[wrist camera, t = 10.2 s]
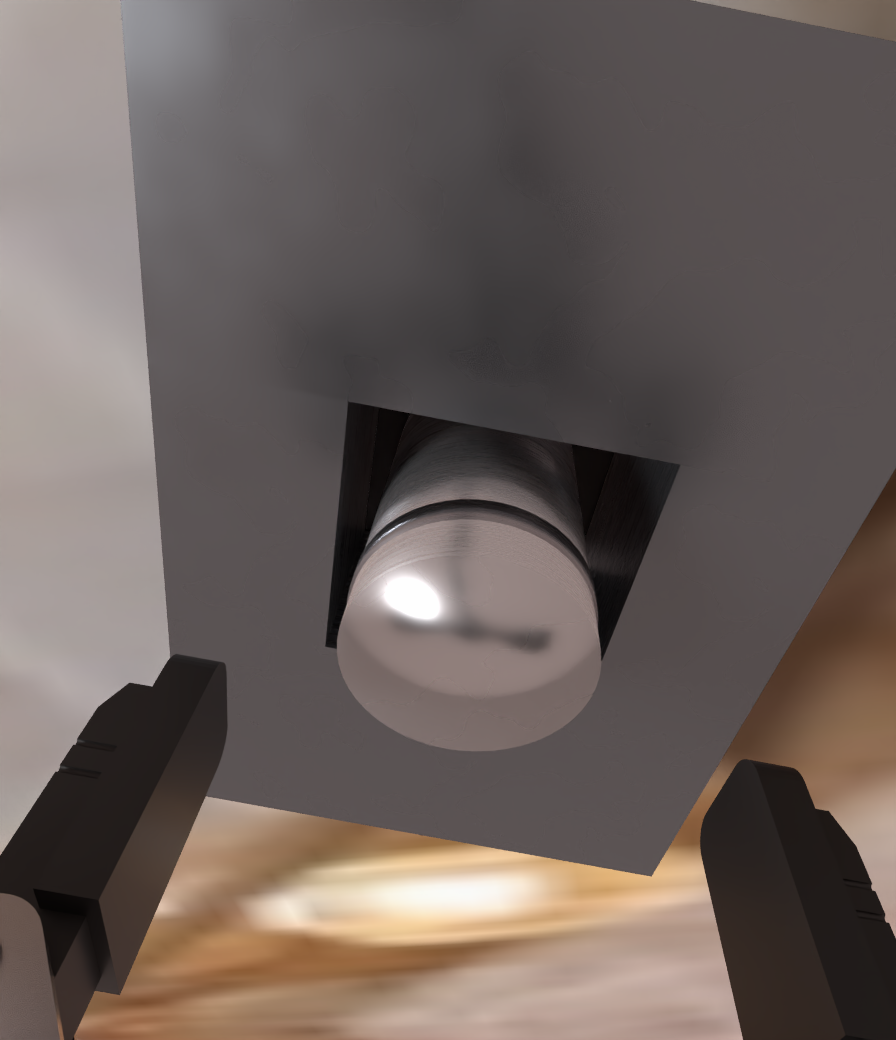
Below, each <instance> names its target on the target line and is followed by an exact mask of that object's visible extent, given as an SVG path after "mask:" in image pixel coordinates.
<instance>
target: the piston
mask: <svg viewBox="0 0 896 1040" xmlns="http://www.w3.org/2000/svg"><path fill="white" fill-rule="evenodd" d="M337 657H338V664H339V667H340V670H341V673H342V676H343V678H344V680H345V682H346V684H347V686H348V688H349V690H350V691H351V693H352V694H353V695H354V697H355V698H356V700H357V701H358V702H359V703H360V704H361V705H362V706H363V707H364V708H365V710H367V711H368V712H369V713H370V714H371V715H372V716H374V717H375V718H376V719H377V720H379V721H380V722H382V723H383V724H385V725H386V726H387V727H389V728H391V729H393V730H394V731H396V732H398V733H400V734H402V735H404V736H407V737H409V738H411V739H414V740H416V741H419V742H422V743H425V744H428V745H432V746H436V747H441V748H445V749H452V750H460V751H495V750H503V749H509V748H514V747H518V746H523V745H526V744H529V743H532V742H535V741H538V740H540V739H542V738H544V737H546V736H549V735H551V734H552V733H554V732H556V731H557V730H559V729H561V728H562V727H564V726H565V725H566V724H568V723H569V722H570V721H571V720H573V719H574V718H575V717H576V716H577V715H578V714H579V713H580V712H581V711H582V710H583V708H584V707H585V706H586V704H587V703H588V701H589V700H590V698H591V697H592V695H593V693H594V691H595V689H596V686H597V683H598V680H599V676H600V670H601V649H600V642H599V634H598V608H597V601H596V594H595V587H594V583H593V579H592V575H591V572H590V570H589V564H588V557H587V550H586V542H585V535H584V528H583V521H582V514H581V507H580V500H579V493H578V486H577V479H576V472H575V465H574V458H573V450H572V444H569V443H564V442H559V441H554V440H548V439H543V438H538V437H533V436H527V435H522V434H517V433H512V432H506V431H501V430H496V429H491V428H485V427H480V426H475V425H470V424H464V423H459V422H454V421H449V420H443V419H438V418H433V417H428V416H422V415H417V414H412V413H411V414H410V416H409V418H408V419H407V422H406V424H405V427H404V429H403V432H402V435H401V438H400V442H399V445H398V448H397V451H396V454H395V457H394V460H393V463H392V466H391V469H390V472H389V476H388V479H387V482H386V485H385V488H384V491H383V494H382V497H381V500H380V503H379V506H378V510H377V513H376V516H375V519H374V522H373V525H372V528H371V531H370V534H369V537H368V541H367V544H366V547H365V550H364V551H363V553H362V555H361V556H360V559H359V561H358V564H357V567H356V569H355V572H354V575H353V578H352V581H351V584H350V588H349V593H348V597H347V605H346V609H345V612H344V615H343V618H342V621H341V624H340V627H339V632H338V637H337Z"/></svg>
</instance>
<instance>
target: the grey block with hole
mask: <svg viewBox="0 0 896 1040" xmlns="http://www.w3.org/2000/svg"><path fill="white" fill-rule="evenodd" d="M120 1H121V14H122V27H123V41H124V54H125V67H126V80H127V93H128V106H129V119H130V133H131V146H132V159H133V172H134V185H135V198H136V211H137V225H138V238H139V251H140V264H141V277H142V290H143V303H144V316H145V330H146V343H147V356H148V369H149V382H150V395H151V408H152V422H153V435H154V448H155V461H156V474H157V487H158V500H159V513H160V527H161V540H162V553H163V566H164V579H165V592H166V605H167V619H168V632H169V645H170V658H171V657H172V656H173V655H175V654H180V655H186V656H191V657H197V658H202V659H208V660H213V661H219V662H224V663H225V665H226V671H227V720H228V728H227V736H226V742H225V746H224V750H223V754H222V757H221V760H220V763H219V766H218V768H217V771H216V773H215V775H214V778H213V780H212V782H211V785H210V787H209V789H208V792H207V794H206V796H208V797H213V798H219V799H224V800H230V801H236V802H241V803H247V804H252V805H258V806H263V807H269V808H274V809H280V810H286V811H291V812H297V813H302V814H308V815H313V816H319V817H324V818H330V819H336V820H341V821H347V822H352V823H358V824H363V825H369V826H374V827H380V828H385V829H391V830H397V831H402V832H408V833H413V834H419V835H424V836H430V837H435V838H441V839H447V840H452V841H458V842H463V843H469V844H474V845H480V846H485V847H491V848H497V849H502V850H508V851H513V852H519V853H524V854H530V855H535V856H541V857H547V858H552V859H558V860H563V861H569V862H574V863H580V864H585V865H591V866H596V867H602V868H608V869H613V870H619V871H624V872H630V873H635V874H641V875H646V876H652V875H653V873H654V871H655V870H656V868H657V866H658V865H659V863H660V861H661V860H662V858H663V856H664V855H665V853H666V851H667V850H668V848H669V846H670V845H671V843H672V841H673V839H674V838H675V836H676V834H677V833H678V831H679V829H680V828H681V826H682V824H683V823H684V821H685V819H686V818H687V816H688V814H689V813H690V811H691V809H692V808H693V806H694V804H695V803H696V801H697V799H698V798H699V796H700V794H701V793H702V791H703V789H704V788H705V786H706V784H707V783H708V781H709V779H710V778H711V776H712V774H713V773H714V771H715V769H716V768H717V766H718V764H719V763H720V761H721V759H722V758H723V756H724V754H725V753H726V751H727V749H728V748H729V746H730V744H731V743H732V741H733V739H734V738H735V736H736V734H737V733H738V731H739V729H740V728H741V726H742V724H743V722H744V721H745V719H746V717H747V716H748V714H749V712H750V711H751V709H752V707H753V706H754V704H755V702H756V701H757V699H758V697H759V696H760V694H761V692H762V691H763V689H764V687H765V686H766V684H767V682H768V681H769V679H770V677H771V676H772V674H773V672H774V671H775V669H776V667H777V666H778V664H779V662H780V661H781V659H782V657H783V656H784V654H785V652H786V651H787V649H788V647H789V646H790V644H791V642H792V641H793V639H794V637H795V636H796V634H797V632H798V631H799V629H800V627H801V626H802V624H803V622H804V621H805V619H806V617H807V616H808V614H809V612H810V611H811V609H812V607H813V606H814V604H815V602H816V600H817V599H818V597H819V595H820V594H821V592H822V590H823V589H824V587H825V585H826V584H827V582H828V580H829V579H830V577H831V575H832V574H833V572H834V570H835V569H836V567H837V565H838V564H839V562H840V560H841V559H842V557H843V555H844V554H845V552H846V550H847V549H848V547H849V545H850V544H851V542H852V540H853V539H854V537H855V535H856V534H857V532H858V530H859V529H860V527H861V525H862V524H863V522H864V520H865V519H866V517H867V515H868V514H869V512H870V510H871V509H872V507H873V505H874V504H875V502H876V500H877V499H878V497H879V495H880V494H881V492H882V490H883V489H884V487H885V485H886V484H887V482H888V480H889V478H890V477H891V475H892V473H893V472H894V470H895V468H896V42H894V41H889V40H884V39H879V38H874V37H869V36H864V35H859V34H855V33H850V32H845V31H840V30H835V29H830V28H825V27H820V26H815V25H810V24H805V23H800V22H795V21H790V20H785V19H780V18H775V17H770V16H765V15H761V14H756V13H751V12H746V11H741V10H736V9H731V8H726V7H721V6H716V5H711V4H706V3H701V2H696V1H691V0H120ZM379 407H380V408H386V409H391V410H396V411H401V412H407V413H412V414H417V415H422V416H428V417H433V418H438V419H443V420H449V421H454V422H459V423H464V424H470V425H475V426H480V427H485V428H491V429H496V430H501V431H506V432H512V433H517V434H522V435H527V436H533V437H538V438H543V439H548V440H554V441H559V442H564V443H569V444H575V445H580V446H585V447H590V448H596V449H601V450H606V451H611V452H614V455H613V458H612V461H611V464H610V467H609V470H608V473H607V476H606V479H605V482H604V485H603V488H602V491H601V493H600V496H599V499H598V502H597V505H596V508H595V511H594V514H593V517H592V520H591V523H590V526H589V529H588V532H587V535H586V538H585V542H586V550H587V557H588V564H589V570H590V572H591V575H592V579H593V583H594V587H595V594H596V601H597V608H598V634H599V642H600V649H601V670H600V676H599V680H598V683H597V686H596V689H595V691H594V693H593V695H592V697H591V698H590V700H589V701H588V703H587V704H586V706H585V707H584V708H583V710H582V711H581V712H580V713H579V714H578V715H577V716H576V717H575V718H574V719H573V720H571V721H570V722H569V723H568V724H566V725H565V726H564V727H562V728H561V729H559V730H557V731H556V732H554V733H552V734H551V735H549V736H546V737H544V738H542V739H540V740H538V741H535V742H532V743H529V744H526V745H523V746H518V747H514V748H509V749H503V750H495V751H460V750H452V749H445V748H441V747H436V746H432V745H428V744H425V743H422V742H419V741H416V740H414V739H411V738H409V737H407V736H404V735H402V734H400V733H398V732H396V731H394V730H393V729H391V728H389V727H387V726H386V725H385V724H383V723H382V722H380V721H379V720H377V719H376V718H375V717H374V716H372V715H371V714H370V713H369V712H368V711H367V710H365V708H364V707H363V706H362V705H361V704H360V703H359V702H358V701H357V700H356V698H355V697H354V695H353V694H352V693H351V691H350V690H349V688H348V686H347V684H346V682H345V680H344V678H343V676H342V673H341V670H340V667H339V664H338V657H337V637H338V632H339V627H340V624H341V621H342V618H343V615H344V612H345V609H346V605H347V597H348V593H349V588H350V584H351V581H352V578H353V575H354V572H355V569H356V567H357V564H358V561H359V559H360V556H361V555H362V553H363V551H364V550H365V547H366V544H367V541H368V537H369V534H370V532H369V531H365V523H366V514H367V506H368V498H369V490H370V481H371V473H372V465H373V456H374V448H375V440H376V432H377V423H378V415H379Z"/></svg>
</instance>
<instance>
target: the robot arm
mask: <svg viewBox="0 0 896 1040" xmlns="http://www.w3.org/2000/svg"><path fill="white" fill-rule="evenodd" d="M227 728H228V720H227V671H226V665H225V663H224V662H219V661H213V660H208V659H202V658H197V657H191V656H186V655H180V654H175V655H173V656H172V657H171V658H170V659H169V660H168V662H167V663H166V665H165V666H164V668H163V670H162V671H161V673H160V675H159V676H158V678H157V680H156V681H155V683H154V685H153V687H151V686H145V685H140V684H134V683H129V684H127V685H126V686H125V687H124V688H122V689H121V690H120V691H118V692H117V693H116V694H114V695H113V696H112V697H111V698H109V699H108V700H107V701H105V702H104V703H103V704H102V705H100V706H99V707H98V708H97V710H96V711H95V713H94V714H93V716H92V717H91V719H90V720H89V722H88V723H87V725H86V726H85V728H84V729H83V731H82V732H81V734H80V735H79V737H78V738H77V743H76V745H73V746H72V748H71V749H70V751H69V752H68V754H67V755H66V757H65V758H64V760H63V761H62V763H61V764H60V769H59V771H58V772H55V773H54V775H53V776H52V778H51V779H50V781H49V782H48V784H47V786H46V787H45V789H44V790H43V792H42V793H41V795H40V796H39V798H38V799H37V801H36V802H35V804H34V805H33V807H32V808H31V810H30V811H29V813H28V814H27V816H26V817H25V819H24V820H23V822H22V823H21V825H20V827H19V828H18V830H17V831H16V833H15V834H14V836H13V837H12V839H11V840H10V842H9V843H8V845H7V846H6V848H5V849H4V851H3V852H2V854H1V855H0V1040H77V1036H76V1031H77V1028H78V1026H79V1024H80V1022H81V1020H82V1017H83V1015H84V1013H85V1011H86V1009H87V1007H88V1004H89V1002H90V1000H91V998H92V996H93V994H94V991H100V992H106V993H111V994H117V995H120V993H121V991H122V989H123V986H124V984H125V982H126V979H127V977H128V975H129V972H130V970H131V968H132V965H133V963H134V961H135V958H136V956H137V954H138V951H139V949H140V947H141V945H142V942H143V940H144V938H145V935H146V933H147V931H148V928H149V926H150V924H151V921H152V919H153V917H154V914H155V912H156V910H157V907H158V905H159V903H160V900H161V898H162V896H163V894H164V891H165V889H166V887H167V884H168V882H169V880H170V877H171V875H172V873H173V870H174V868H175V866H176V863H177V861H178V859H179V856H180V854H181V852H182V850H183V847H184V845H185V843H186V840H187V838H188V836H189V833H190V831H191V829H192V826H193V824H194V822H195V819H196V817H197V815H198V812H199V810H200V808H201V805H202V803H203V801H204V799H205V796H206V794H207V792H208V789H209V787H210V785H211V782H212V780H213V778H214V775H215V773H216V771H217V768H218V766H219V763H220V760H221V757H222V754H223V750H224V746H225V742H226V736H227ZM700 847H701V856H702V861H703V865H704V869H705V874H706V878H707V883H708V887H709V891H710V896H711V900H712V904H713V909H714V913H715V918H716V922H717V926H718V931H719V935H720V940H721V944H722V948H723V953H724V957H725V962H726V966H727V970H728V975H729V979H730V984H731V988H732V992H733V997H734V1001H735V1006H736V1010H737V1014H738V1019H739V1023H740V1028H741V1032H742V1036H743V1040H896V938H895V936H894V934H893V931H892V929H891V927H890V924H889V923H886V922H885V913H884V910H883V908H882V906H881V903H880V901H879V899H878V896H877V894H876V892H875V891H872V889H871V885H872V882H871V880H870V878H869V875H868V873H867V871H866V868H865V866H864V864H863V861H862V859H861V857H860V854H859V852H858V850H857V847H856V845H855V844H854V843H853V842H852V840H851V839H850V838H849V837H848V835H847V834H846V833H845V831H844V830H843V829H842V828H841V826H840V825H839V824H838V823H837V821H836V820H835V819H834V817H833V816H832V815H831V814H830V812H829V811H824V810H819V809H815V807H814V804H813V802H812V799H811V797H810V794H809V792H808V789H807V786H806V784H805V782H804V779H803V777H802V776H801V774H800V773H799V772H798V771H797V770H796V769H794V768H791V767H786V766H780V765H775V764H769V763H764V762H758V761H753V760H747V759H744V760H741V761H740V762H739V763H738V764H737V765H736V766H735V768H734V770H733V771H732V773H731V774H730V776H729V778H728V779H727V781H726V782H725V784H724V786H723V787H722V789H721V790H720V792H719V794H718V795H717V797H716V798H715V800H714V802H713V803H712V805H711V806H710V808H709V810H708V811H707V813H706V815H705V817H704V820H703V823H702V828H701V836H700Z"/></svg>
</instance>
